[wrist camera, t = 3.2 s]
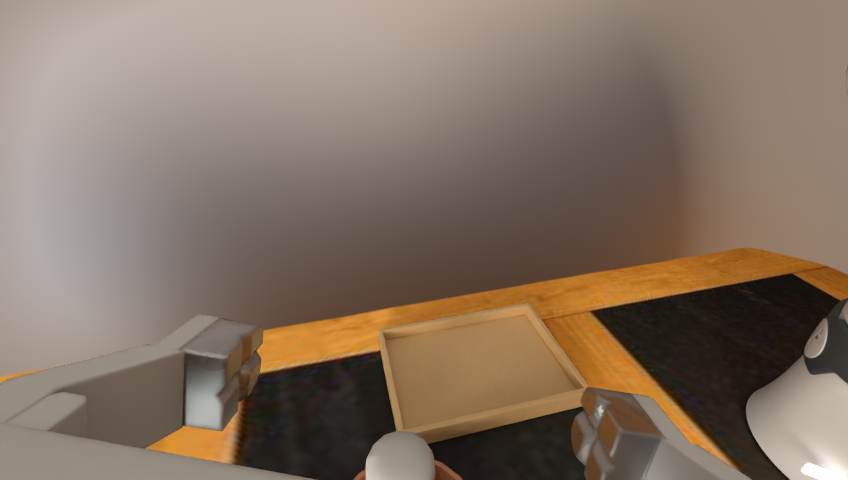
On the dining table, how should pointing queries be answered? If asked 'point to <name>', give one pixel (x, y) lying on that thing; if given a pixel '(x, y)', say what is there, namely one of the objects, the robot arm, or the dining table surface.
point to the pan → (443, 474)
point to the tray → (476, 372)
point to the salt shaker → (400, 458)
